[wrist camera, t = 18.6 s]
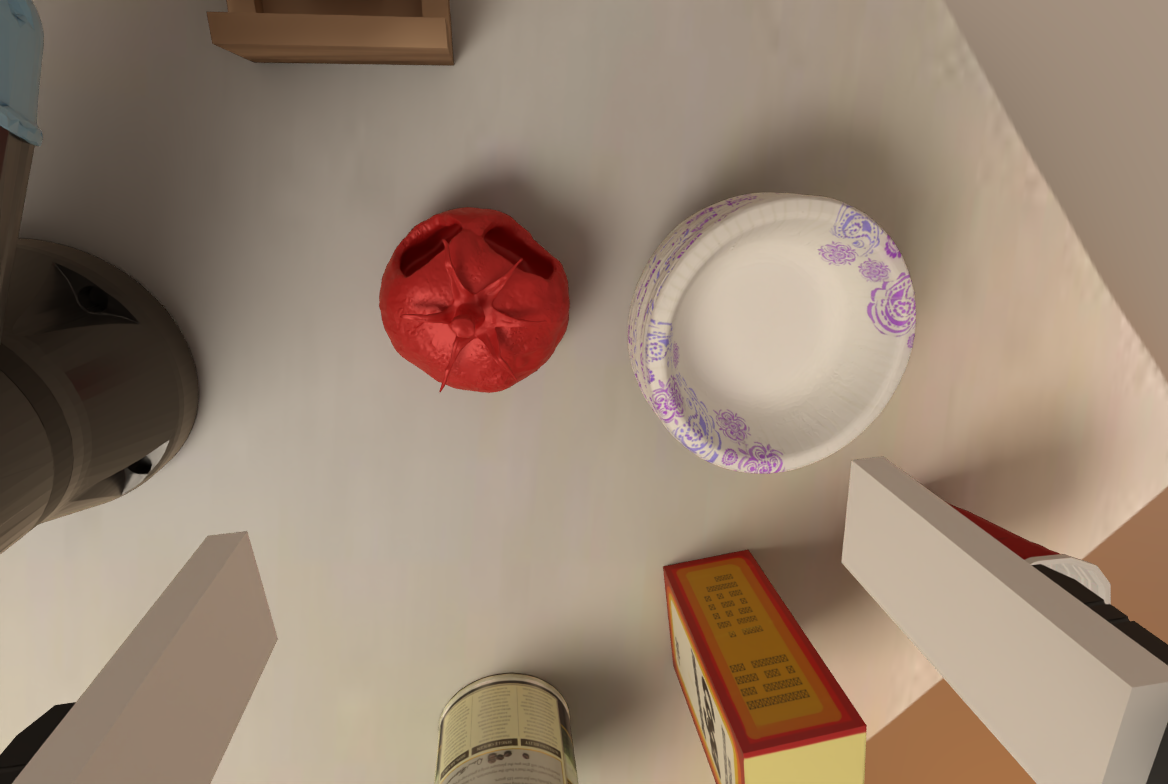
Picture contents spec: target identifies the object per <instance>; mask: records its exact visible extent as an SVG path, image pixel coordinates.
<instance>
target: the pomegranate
mask: <svg viewBox="0 0 1168 784" xmlns="http://www.w3.org/2000/svg"><path fill="white" fill-rule="evenodd" d="M568 291H569V287H568V280H567V276H566V274H565V272H564V269H563V266H562V264H561V263H560V261H558V260H557V259H556V258H554V257H553V256H552V255H551V254H549V253H548V251H546V250H545V249H544V248H543V247H542V246H540V245H539V244H538V243H537V242H536V241H535V240H533V237H532V236H531V234H530V233H529V232H528V231H527V230H526V229H525V228H523V227H522V226H521V225H519V224H518V223H517V222H516V221H515V220H514V219H513V218H512V217H510V216H509V215H507V214H504V213H502V212H500V211H496V210H492V209H480V208H471V207H465V208H457V209H452V210H448V211H445V212H442V213H439V214H436V215H434V216H432V217H431V218H429V219H427V220H426V221H423V222H421V223H420V224H418V225H416V226H415V227H414V228H413V229H412V230H411V231H410V232H409V234H408V235H407V236H406V237H405V238H404V239H403V240H402V241H401V242H400V244H399V245H398V246H397V248H396V249H395V251H394V253H393V255H392V257H391V259H390V261H389V263H388V264H387V266H386V269H385V272H384V274H383V277H382V282H381V289H380V296H379V300H380V303H379V307H380V310H381V316H382V321H383V325H384V328H385V330H386V332H387V334H388V336H389V338H390V340H391V342H392V344H393V346H394V348H395V349H396V351H397V352H398V353H399V354H400V355H401V356H402V357H403V358H405V359H406V360H407V361H409V362H411V363H413V364H414V365H415V366H417V367H418V368H420V369H421V370H423V371H424V372H426V373H427V374H428V375H430V376H431V377H432V378H434V379H435V380H437V381H438V382H441V383H442V385H441V388H440V392H441V391H442V389H443V388H444V386H445V384H446V385H448V386H450V387H453V388H456V389H462V390H470V391H478V392H487V393H490V392H498V391H502V390H504V389H507V388H509V387H511V386H513V385H514V384H516V383H517V382H519V381H521V380H523V379H524V378H526V377H528V376H529V375H530V374H532V373H534V372H536V371H537V370H538V369H539V368H540V367H541V366H542V365H543V364H545V363H546V362H547V361H548V359H549V358H550V357H551V355H552V354H553V352H554V351H555V348H556V347H557V345H558V344H559V342H560V341H561V339H562V338H563V336H564V334H565V332H566V329H567V325H568V320H569V308H570V300H569V294H568Z"/></svg>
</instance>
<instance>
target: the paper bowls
mask: <svg viewBox="0 0 1168 784" xmlns="http://www.w3.org/2000/svg"><path fill="white" fill-rule="evenodd" d="M914 295H915V292H914V289H913V285H912V280H911V278H910V274H909V270H908V268H907V266H906V264H905V261H904V259H903V257H902V255H901V253H900V251H899V249H898V247H897V246H896V244H895V243H894V241H893V240H892V239H891V237H890V236H889V235H888V234H887V233H886V232H885V231H884V230H883V229H882V228H881V227H880V226H879V225H878V224H877V223H876V222H875V221H874V220H873V219H872V218H870V217H869V216H868V215H866V214H865V213H863V212H861V211H859V210H858V209H856V208H855V207H852V206H850V205H848V204H846V203H844V202H841V201H838V200H836V199H833V198H828V197H824V196H815V195H802V194H794V193H769V192H763V193H751V194H745V195H740V196H736V197H732V198H729V199H726V200H723V201H720V202H718V203H715V204H712V205H711V206H708V207H706V208H704V209H702V210H700V211H698V212H697V213H695V214H693V215H692V216H690V217H689V218H687V219H686V220H684V221H683V222H681V223H680V224H679V225H678V226H677V227H676V228H675V229H674V230H673V231H672V232H671V233H670V234H669V235H668V236H667V237H666V238H665V240H664V241H663V242H662V243H661V244H660V245H659V247H658V248H657V249H656V251H655V252H654V254H653V255H652V257H651V258H650V260H649V262H648V263H647V265H646V267H645V269H644V271H643V273H642V275H641V277H640V280H639V282H638V284H637V287H636V289H635V292H634V296H633V299H632V303H631V306H630V313H629V318H628V350H629V356H630V361H631V366H632V369H633V372H634V375H635V377H636V380H637V382H638V385H639V387H640V389H641V391H642V393H643V395H644V397H645V399H646V400H647V402H648V403H649V405H650V406H651V407H652V409H653V411H654V412H655V414H656V415H657V416H658V417H659V418H660V420H661V421H662V423H663V424H664V426H665V427H666V429H667V430H668V431H669V432H670V433H671V434H672V436H673V437H674V438H675V439H677V440H678V441H679V442H680V443H681V444H682V445H683V446H684V447H686V448H687V449H688V450H690V451H691V452H692V453H694V454H695V455H697V456H699V457H700V458H702V459H704V460H706V461H708V462H710V463H712V464H714V465H717V466H720V467H722V468H726V469H729V470H733V471H737V472H745V473H759V474H765V473H778V472H785V471H790V470H794V469H798V468H801V467H804V466H807V465H810V464H812V463H815V462H818V461H820V460H822V459H824V458H826V457H828V456H830V455H832V454H834V453H835V452H837V451H839V450H840V449H842V448H843V447H844V446H846V445H847V444H849V443H850V442H851V441H853V440H854V439H855V438H856V437H857V436H859V435H860V434H861V433H862V432H863V431H864V430H865V429H866V428H867V427H868V426H869V425H870V424H871V423H872V422H873V421H874V420H875V419H876V418H877V417H878V416H879V414H880V413H881V412H882V411H883V409H884V408H885V407H886V405H887V403H888V402H889V400H890V398H891V397H892V395H893V394H894V392H895V390H896V388H897V386H898V385H899V383H900V380H901V378H902V376H903V374H904V372H905V370H906V366H907V363H908V361H909V358H910V354H911V350H912V348H913V340H914V337H915V326H916V305H915V296H914Z"/></svg>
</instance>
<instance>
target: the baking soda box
mask: <svg viewBox="0 0 1168 784" xmlns="http://www.w3.org/2000/svg"><path fill="white" fill-rule="evenodd" d="M663 571H664V580H665V590H666V599H667V609H668V619H669V628H670V638H671V647H672V657H673V666H674V669H675V672H676V674H677V677H678V680H679V683H680V685H681V688H682V691H683V694H684V696H685V699H686V702H687V705H688V707H689V710H690V713H691V716H692V718H693V721H694V724H695V727H696V729H697V732H698V735H699V738H700V740H701V743H702V746H703V749H704V751H705V754H706V757H707V760H708V762H709V765H710V768H711V771H712V773H713V776H714V779H715V782H716V784H864V775H865V750H866V726H867V725H866V724H865V723H864V721H863V720H862V718H861V717H860V715H859V714H858V712H857V711H856V709H855V708H854V706H853V705H852V703H851V702H850V700H849V699H848V697H847V696H846V694H845V693H844V691H843V690H842V688H841V687H840V685H839V684H838V682H837V681H836V679H835V678H834V676H833V675H832V673H831V672H830V670H829V669H828V667H827V666H826V664H825V663H824V662H823V660H822V659H821V657H820V656H819V654H818V653H817V651H816V650H815V648H814V647H813V645H812V644H811V642H810V641H809V639H808V638H807V636H806V635H805V633H804V632H803V630H802V629H801V627H800V626H799V624H798V623H797V621H796V620H795V618H794V617H793V615H792V614H791V612H790V611H789V609H788V608H787V606H786V605H785V604H784V602H783V601H782V599H781V598H780V596H779V595H778V593H777V592H776V590H775V589H774V587H773V586H772V584H771V583H770V581H769V580H768V578H767V577H766V575H765V574H764V572H763V571H762V569H761V568H760V566H759V565H758V563H757V562H756V560H755V559H754V557H753V556H752V554H751V553H750V551H749V550H744V551H739V552H734V553H729V554H723V555H718V556H713V557H708V558H703V559H698V560H693V561H688V562H683V563H678V564H673V565H668V566H663Z"/></svg>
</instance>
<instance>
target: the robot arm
mask: <svg viewBox="0 0 1168 784" xmlns="http://www.w3.org/2000/svg"><path fill="white" fill-rule="evenodd" d="M43 46H44V33H43V27H42V23H41V20H40V17H39V14H38V11H37V9H36V7H35V5H34V4H33V2H32V0H0V554H1V553H3V552H4V551H5V550H6V549H8V548H9V547H10V546H12V545H13V544H14V543H15V542H17V541H18V540H19V539H21V538H22V537H23V536H24V535H26V533H28V532H29V531H30V530H32V529H33V528H34V527H36V526H37V525H38V524H41V523H44V522H47V521H50V520H53V519H56V518H60V517H63V516H66V515H69V514H72V513H75V512H79V511H82V510H85V509H88V508H91V507H94V506H98V505H101V504H104V503H107V502H109V501H112V500H115V499H117V498H119V497H121V496H123V495H125V494H127V493H129V492H131V491H132V490H134V489H136V488H137V487H139V486H140V485H142V484H143V483H145V482H146V481H147V480H148V479H150V478H151V477H152V476H153V475H154V474H155V473H157V472H158V471H159V470H160V469H161V468H162V467H163V466H164V465H166V464H167V463H168V462H169V461H170V460H171V459H172V458H173V457H174V456H175V455H176V453H177V452H178V451H179V450H180V448H181V447H182V446H183V444H184V442H185V441H186V439H187V437H188V435H189V433H190V431H191V429H192V426H193V423H194V420H195V416H196V412H197V406H198V380H197V374H196V369H195V365H194V361H193V358H192V355H191V352H190V350H189V347H188V345H187V343H186V341H185V339H184V337H183V335H182V333H181V331H180V330H179V328H178V327H177V325H176V323H175V322H174V320H173V319H172V318H171V316H170V315H169V314H168V312H167V311H166V310H165V309H164V308H163V306H162V305H161V304H160V303H159V302H158V301H157V300H156V299H155V298H154V297H153V296H152V295H151V294H150V293H149V292H148V291H147V290H146V289H145V288H143V287H142V286H141V285H140V284H139V283H137V282H136V281H135V280H134V279H132V278H131V277H129V276H128V275H127V274H125V273H124V272H122V271H121V270H119V269H117V268H116V267H114V266H112V265H111V264H109V263H107V262H105V261H103V260H101V259H99V258H97V257H95V256H93V255H90V254H88V253H85V252H83V251H80V250H77V249H75V248H72V247H68V246H65V245H61V244H57V243H53V242H48V241H42V240H35V239H24V238H18V235H19V230H20V224H21V219H22V213H23V208H24V202H25V197H26V191H27V186H28V180H29V175H30V169H31V164H32V158H33V153H34V147H35V145H36V146H41V144H42V140H43V136H42V131H41V130H40V129H39V127H38V126H37V110H38V94H39V85H40V75H41V66H42V56H43ZM841 563H842V564H843V565H844V566H845V567H846V568H847V569H848V570H849V572H850V573H851V574H852V575H853V576H854V577H855V578H856V579H857V581H858V582H859V583H860V584H861V585H862V586H863V587H864V589H865V590H866V591H867V592H868V593H869V594H870V595H871V596H872V598H873V599H874V600H875V601H876V602H877V603H878V604H879V606H880V607H881V608H882V609H883V610H884V611H885V612H886V613H887V615H888V616H889V617H890V618H891V619H892V620H893V621H894V622H895V624H896V625H897V626H898V627H899V628H900V629H901V630H902V632H903V633H904V634H905V635H906V636H907V637H908V638H909V639H910V641H911V642H912V643H913V644H914V645H915V646H916V647H917V649H918V650H919V651H920V652H921V653H922V654H923V655H924V656H925V658H926V659H927V660H928V661H929V662H930V663H931V664H932V665H933V667H934V668H935V669H936V670H937V671H938V672H939V673H940V675H941V676H942V677H943V678H944V679H945V680H946V681H947V682H948V684H949V685H950V686H951V687H952V688H953V689H954V690H955V692H957V694H958V695H959V696H960V697H961V698H962V699H963V701H964V702H965V703H966V704H967V705H968V706H969V707H970V708H971V710H972V711H973V712H974V713H975V714H976V715H977V716H978V717H979V719H980V720H981V721H982V722H983V723H984V724H985V725H986V727H987V728H988V729H989V730H990V731H991V732H992V733H993V734H994V736H995V737H996V738H997V739H998V740H999V741H1000V742H1001V744H1002V745H1003V746H1004V747H1005V748H1006V749H1007V750H1008V751H1009V753H1010V754H1011V755H1012V756H1013V757H1014V758H1015V759H1016V760H1017V762H1018V763H1019V764H1020V765H1021V766H1022V767H1023V768H1024V770H1025V771H1026V772H1027V773H1028V774H1029V775H1030V776H1031V777H1032V779H1033V780H1034V781H1035V782H1036V783H1037V784H1168V645H1167V644H1166V643H1165V642H1163V641H1162V640H1160V639H1159V638H1158V637H1156V636H1155V635H1153V634H1152V633H1150V632H1149V631H1148V630H1146V629H1145V628H1143V627H1142V626H1140V625H1139V624H1138V623H1136V622H1135V621H1131V622H1130V621H1129V619H1128V616H1126V615H1125V614H1123V613H1122V612H1121V611H1119V610H1118V609H1116V608H1115V607H1114V606H1112V605H1111V604H1105V602H1104V599H1102V598H1101V597H1099V596H1098V595H1096V594H1095V593H1094V592H1092V591H1091V590H1089V589H1088V588H1087V587H1085V586H1084V585H1082V584H1081V583H1079V582H1078V581H1077V580H1075V579H1073V578H1071V577H1068V576H1066V575H1064V574H1062V573H1060V572H1057V571H1055V570H1053V569H1051V568H1049V567H1046V566H1044V565H1042V564H1036V565H1030V564H1029V563H1028V562H1026V561H1025V560H1024V559H1022V558H1021V557H1019V556H1018V555H1017V554H1015V553H1014V552H1013V551H1011V550H1010V549H1009V548H1007V547H1006V546H1004V545H1003V544H1002V543H1000V542H999V541H998V540H996V539H995V538H994V537H992V536H991V535H990V534H988V533H987V532H985V531H984V530H983V529H981V528H980V527H979V526H977V525H976V524H975V523H973V522H972V521H970V520H969V519H968V518H966V517H965V516H964V515H962V514H961V513H960V512H958V511H957V510H956V509H954V508H953V507H951V506H950V505H949V504H947V503H946V502H945V501H943V500H942V499H941V498H939V497H938V496H936V495H935V494H934V493H932V492H931V491H930V490H928V489H927V488H926V487H924V486H923V485H922V484H920V483H919V482H917V481H916V480H915V479H913V478H912V477H911V476H909V475H908V474H907V473H905V472H904V471H902V470H901V469H900V468H898V467H897V466H896V465H894V464H893V463H892V462H890V461H889V460H888V459H886V458H885V457H883V456H882V457H874V458H865V459H857V460H852V462H851V472H850V482H849V492H848V502H847V511H846V521H845V531H844V541H843V551H842V561H841ZM277 640H278V638H277V634H276V631H275V627H274V624H273V620H272V617H271V613H270V610H269V606H268V603H267V599H266V596H265V592H264V588H263V585H262V581H261V578H260V574H259V571H258V567H257V564H256V560H255V557H254V553H253V550H252V546H251V543H250V539H249V536H248V532H247V531H245V532H236V533H228V534H219V535H211V536H207V538H206V539H205V540H204V541H203V543H202V544H201V545H200V546H199V548H198V549H197V550H196V551H195V553H194V554H193V555H192V557H191V558H190V559H189V560H188V562H187V563H186V564H185V565H184V567H183V568H182V569H181V570H180V572H179V573H178V574H177V575H176V577H175V578H174V579H173V581H172V582H171V583H170V584H169V586H168V587H167V588H166V589H165V591H164V592H163V593H162V594H161V596H160V597H159V598H158V600H157V601H156V602H155V603H154V605H153V606H152V607H151V608H150V610H149V611H148V612H147V613H146V615H145V616H144V617H143V618H142V620H141V621H140V622H139V624H138V625H137V626H136V627H135V629H134V630H133V631H132V632H131V634H130V635H129V636H128V637H127V639H126V640H125V641H124V643H123V644H122V645H121V646H120V648H119V649H118V650H117V651H116V653H115V654H114V655H113V656H112V658H111V659H110V660H109V661H108V663H107V664H106V665H105V667H104V668H103V669H102V670H101V672H100V673H99V674H98V675H97V677H96V678H95V679H94V680H93V682H92V683H91V684H90V685H89V687H88V688H87V689H86V691H85V692H84V693H83V694H82V696H81V697H80V698H79V699H78V701H77V702H75V703H68V704H60V705H55V706H54V707H52V708H51V709H50V710H49V711H47V712H46V713H45V714H43V715H42V716H41V717H40V718H38V719H37V720H36V721H35V722H33V723H32V724H31V725H30V726H28V727H27V728H26V729H24V730H23V731H22V732H21V733H19V734H18V735H17V736H16V737H15V738H14V739H13V741H12V742H11V743H10V744H9V745H8V746H7V748H6V749H5V750H4V751H3V752H2V754H1V755H0V784H210V783H211V781H212V779H213V777H214V775H215V772H216V770H217V768H218V766H219V764H220V762H221V760H222V758H223V755H224V753H225V751H226V749H227V747H228V745H229V743H230V740H231V738H232V736H233V734H234V732H235V730H236V728H237V725H238V723H239V721H240V719H241V717H242V715H243V713H244V710H245V708H246V706H247V704H248V702H249V700H250V698H251V695H252V693H253V691H254V689H255V687H256V685H257V683H258V680H259V678H260V676H261V674H262V672H263V670H264V668H265V665H266V663H267V661H268V659H269V657H270V655H271V653H272V650H273V648H274V646H275V644H276V642H277Z"/></svg>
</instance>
